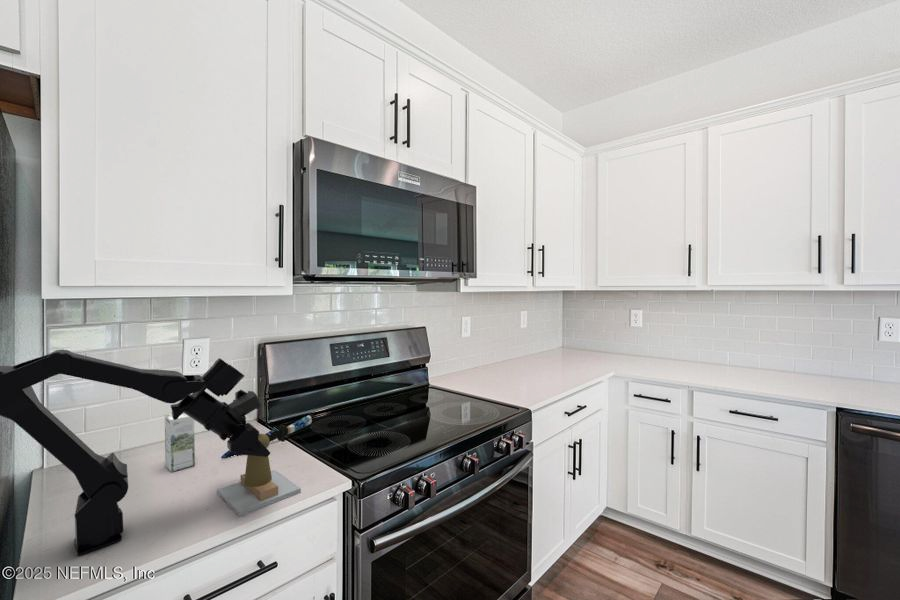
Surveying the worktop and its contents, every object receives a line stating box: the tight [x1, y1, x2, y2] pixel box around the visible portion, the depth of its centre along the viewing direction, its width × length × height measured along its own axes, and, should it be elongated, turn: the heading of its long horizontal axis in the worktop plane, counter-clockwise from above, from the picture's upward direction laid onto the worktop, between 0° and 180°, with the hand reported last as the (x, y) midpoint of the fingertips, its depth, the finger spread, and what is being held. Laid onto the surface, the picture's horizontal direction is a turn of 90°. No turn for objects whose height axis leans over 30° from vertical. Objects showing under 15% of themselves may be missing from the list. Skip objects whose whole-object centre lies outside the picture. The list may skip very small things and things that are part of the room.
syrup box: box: [164, 413, 196, 473], centre depth 111 cm, size 6×6×14 cm
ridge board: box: [216, 469, 302, 517], centre depth 98 cm, size 14×14×3 cm
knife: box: [220, 413, 315, 460], centre depth 128 cm, size 31×3×4 cm, turn 140°
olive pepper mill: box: [244, 433, 272, 487], centre depth 97 cm, size 6×6×11 cm
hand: (263, 448), depth 98 cm, fingers open, 9 cm apart
